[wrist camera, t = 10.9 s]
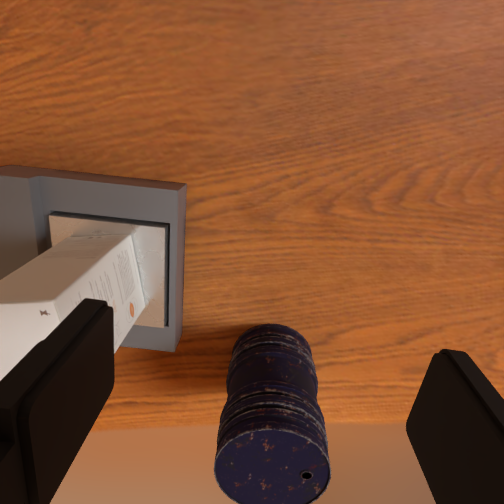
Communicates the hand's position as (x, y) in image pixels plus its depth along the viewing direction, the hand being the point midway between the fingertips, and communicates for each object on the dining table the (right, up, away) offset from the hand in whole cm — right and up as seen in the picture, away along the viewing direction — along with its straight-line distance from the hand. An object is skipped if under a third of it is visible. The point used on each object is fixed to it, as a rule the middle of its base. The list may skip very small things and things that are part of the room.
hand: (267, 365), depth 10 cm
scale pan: (-14, +2, +28) cm, 32 cm away
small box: (-15, +1, +25) cm, 29 cm away
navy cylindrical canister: (+2, -9, +33) cm, 35 cm away
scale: (-17, +3, +29) cm, 34 cm away
